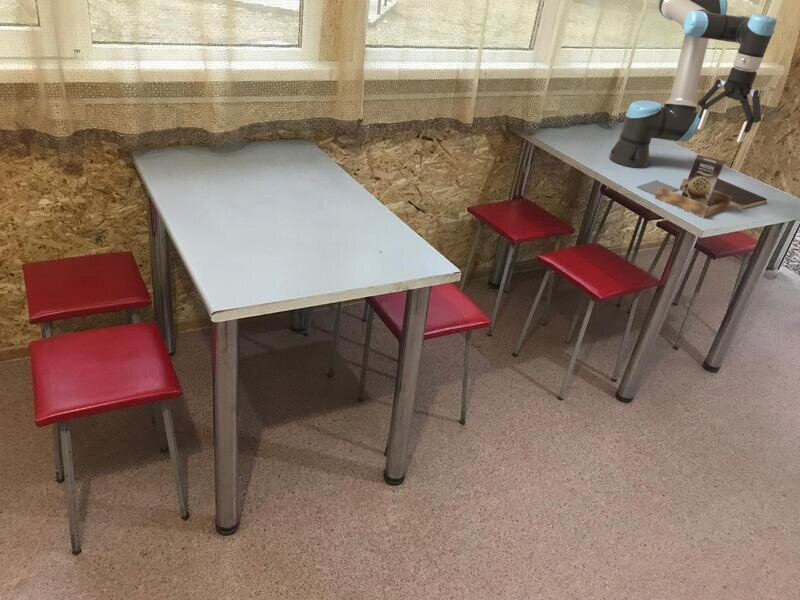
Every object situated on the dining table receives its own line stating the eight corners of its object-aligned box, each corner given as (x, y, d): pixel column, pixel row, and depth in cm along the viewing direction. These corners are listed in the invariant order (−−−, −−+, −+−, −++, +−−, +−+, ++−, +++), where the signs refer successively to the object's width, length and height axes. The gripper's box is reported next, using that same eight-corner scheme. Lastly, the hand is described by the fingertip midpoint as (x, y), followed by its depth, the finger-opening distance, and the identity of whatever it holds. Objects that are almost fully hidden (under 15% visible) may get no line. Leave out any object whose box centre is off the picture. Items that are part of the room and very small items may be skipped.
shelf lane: (655, 198, 229) (658, 187, 227) (681, 188, 240) (685, 178, 238) (702, 218, 218) (707, 207, 216) (728, 207, 229) (732, 196, 227)
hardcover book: (740, 210, 230) (743, 204, 229) (685, 185, 245) (687, 180, 244) (765, 204, 238) (767, 198, 237) (710, 180, 254) (712, 175, 252)
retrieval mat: (636, 187, 236) (636, 186, 235) (656, 181, 244) (656, 180, 244) (658, 196, 230) (658, 195, 230) (677, 189, 239) (678, 188, 238)
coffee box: (678, 202, 228) (694, 158, 219) (680, 196, 233) (696, 153, 224) (705, 210, 225) (723, 165, 216) (707, 204, 230) (724, 160, 221)
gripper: (702, 59, 210) (679, 124, 221) (780, 80, 195) (751, 148, 206) (712, 58, 214) (690, 122, 226) (789, 78, 200) (761, 145, 211)
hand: (719, 135), depth 216 cm, fingers open, 13 cm apart
